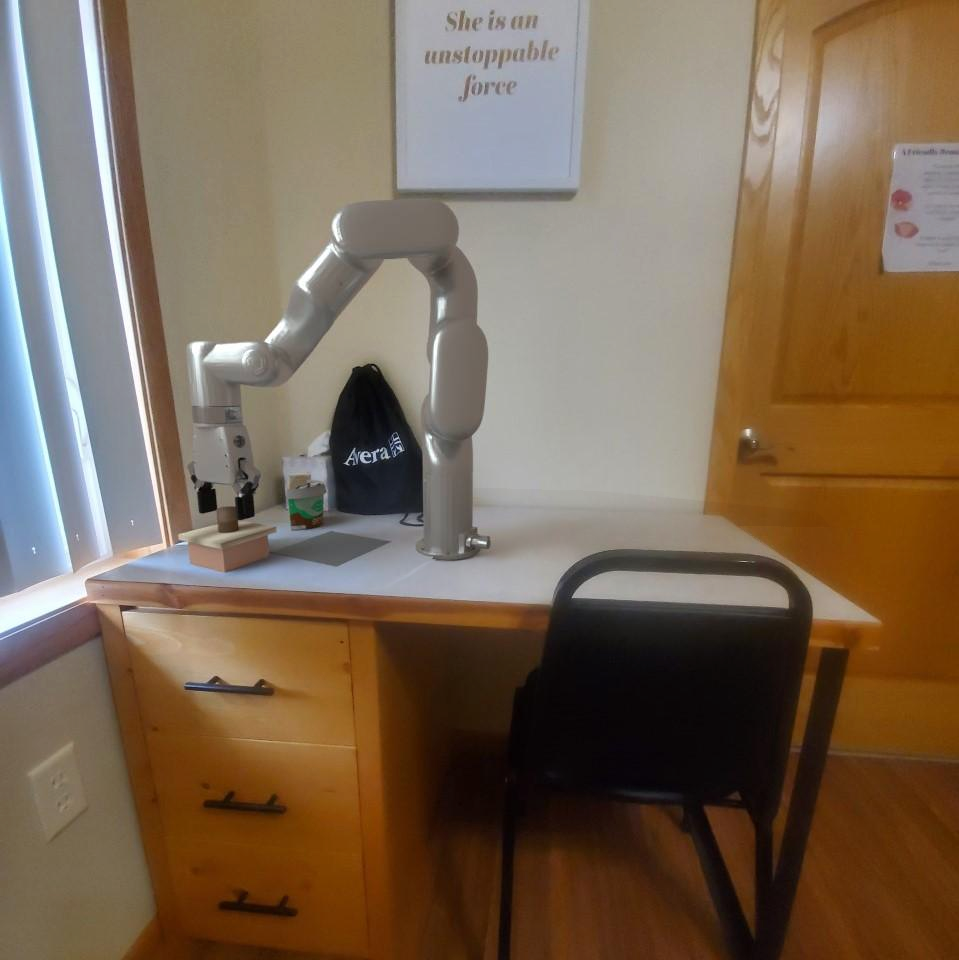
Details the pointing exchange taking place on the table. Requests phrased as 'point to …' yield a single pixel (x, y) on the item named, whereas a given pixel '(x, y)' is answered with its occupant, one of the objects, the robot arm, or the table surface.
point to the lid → (227, 531)
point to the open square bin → (229, 554)
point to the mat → (331, 548)
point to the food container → (306, 505)
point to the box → (297, 480)
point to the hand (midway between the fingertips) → (226, 515)
